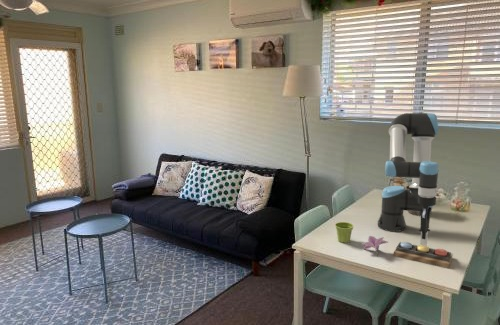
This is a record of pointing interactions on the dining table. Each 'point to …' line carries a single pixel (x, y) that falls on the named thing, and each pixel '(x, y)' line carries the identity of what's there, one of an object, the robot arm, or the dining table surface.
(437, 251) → the button red
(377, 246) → the lily
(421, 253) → the button panel
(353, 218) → the dining table surface
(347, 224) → the plant pot
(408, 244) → the button blue
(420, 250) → the button ochre
